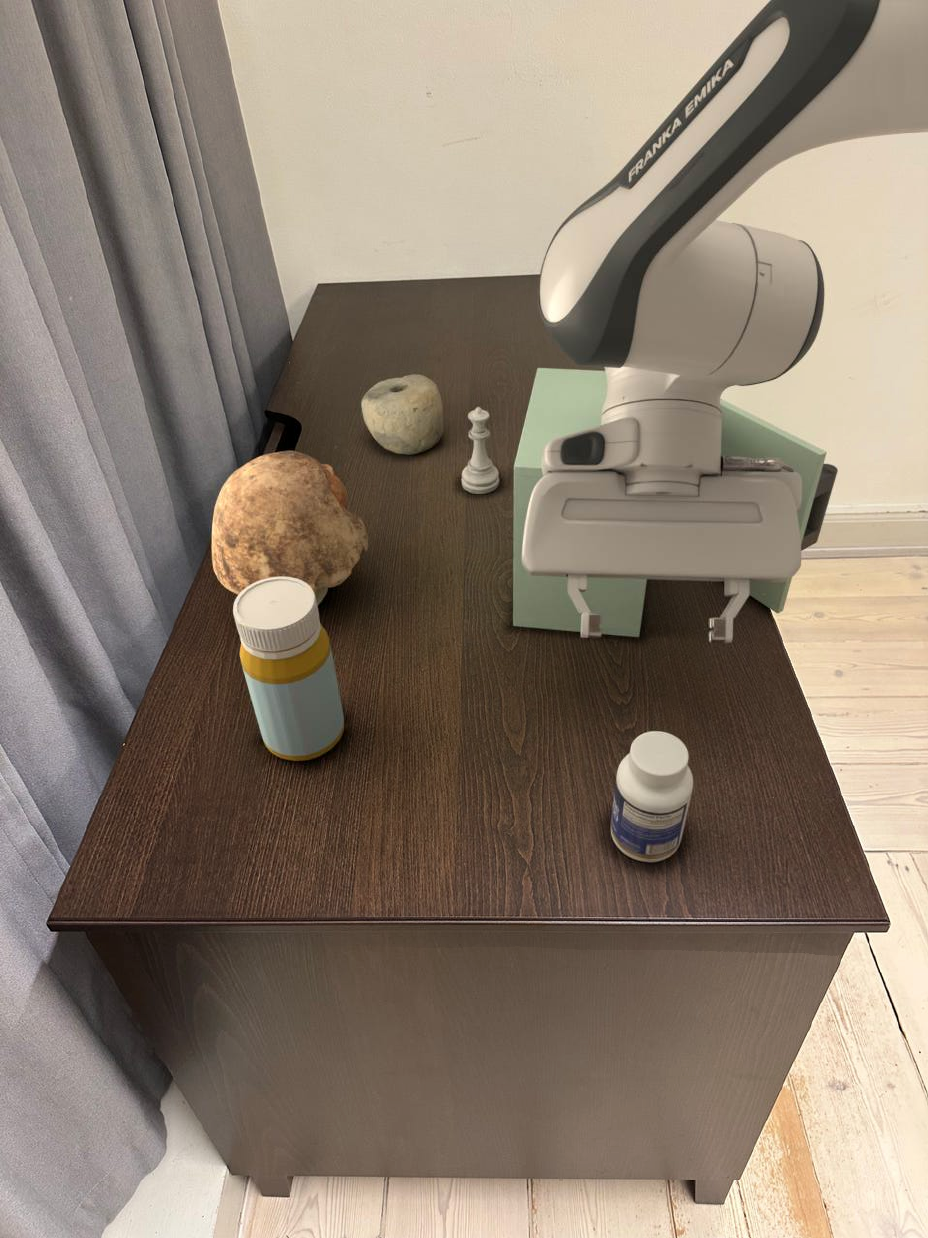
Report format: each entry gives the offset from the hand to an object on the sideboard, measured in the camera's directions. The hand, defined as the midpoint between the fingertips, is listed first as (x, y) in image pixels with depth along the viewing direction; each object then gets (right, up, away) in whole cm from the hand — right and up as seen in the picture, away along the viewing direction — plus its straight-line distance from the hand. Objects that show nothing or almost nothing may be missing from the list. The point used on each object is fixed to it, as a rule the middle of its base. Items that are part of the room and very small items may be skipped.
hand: (655, 640), depth 66 cm
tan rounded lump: (-31, +4, +25) cm, 40 cm away
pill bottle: (0, -15, +2) cm, 15 cm away
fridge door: (+14, +8, +27) cm, 31 cm away
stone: (-21, +24, +47) cm, 57 cm away
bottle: (-28, -8, +11) cm, 31 cm away
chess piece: (-12, +17, +39) cm, 44 cm away
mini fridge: (-2, +6, +26) cm, 27 cm away
